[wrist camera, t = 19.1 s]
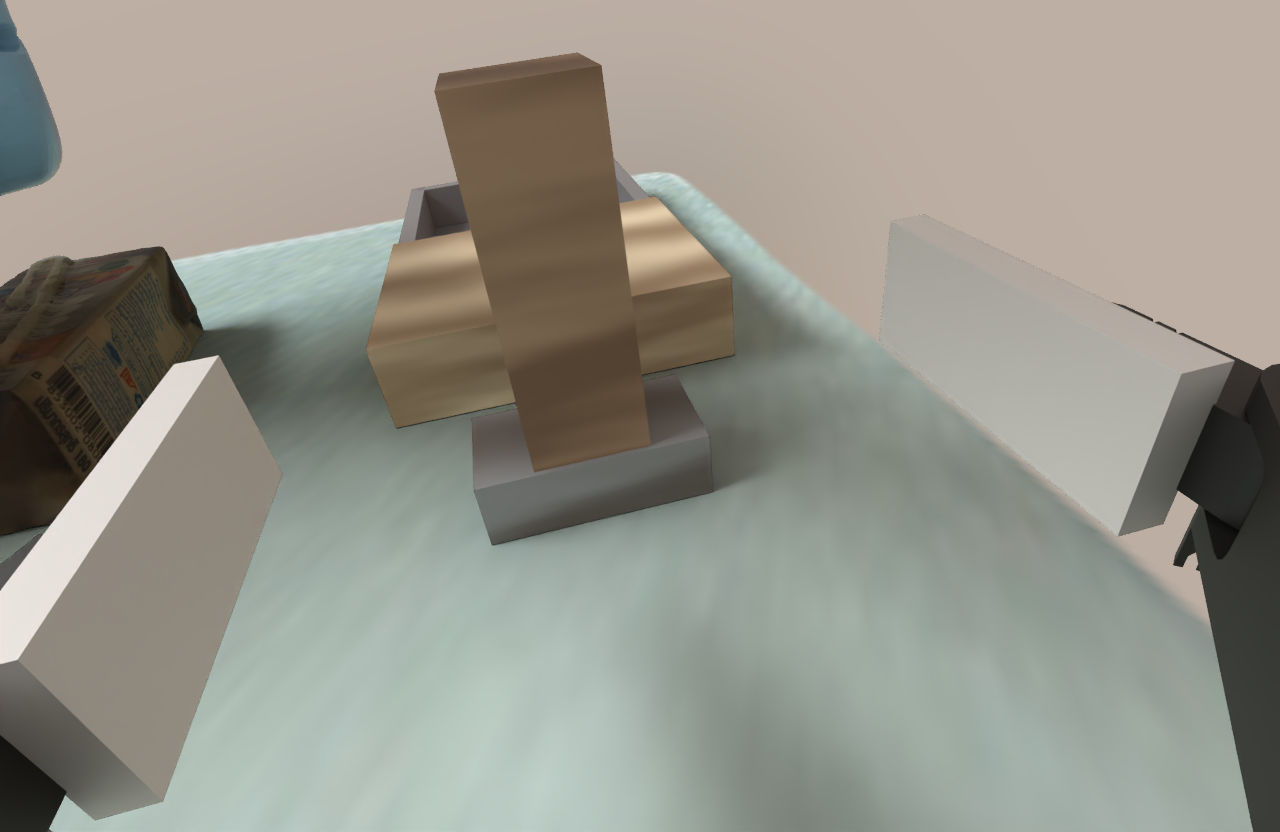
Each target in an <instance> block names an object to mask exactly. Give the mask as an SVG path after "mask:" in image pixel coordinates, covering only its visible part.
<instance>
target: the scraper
mask: <svg viewBox="0 0 1280 832" xmlns="http://www.w3.org/2000/svg"><path fill="white" fill-rule="evenodd" d="M435 95H436V99H437V103H438V107H439V111H440V114H441V118H442V122H443V126H444V129H445V134H446V137H447V141H448V145H449V149H450V153H451V156H452V160H453V164H454V168H455V172H456V176H457V179H458V183H459V187H460V191H461V195H462V199H463V202H464V206H465V210H466V214H467V218H468V222H469V225H470V229H471V233H472V237H473V241H474V244H475V248H476V252H477V256H478V260H479V264H480V267H481V271H482V275H483V279H484V283H485V287H486V290H487V294H488V298H489V302H490V306H491V310H492V313H493V317H494V321H495V325H496V329H497V332H498V336H499V340H500V344H501V348H502V352H503V355H504V359H505V363H506V367H507V371H508V375H509V378H510V382H511V386H512V390H513V394H514V398H515V401H516V405H517V409H513V410H508V411H504V412H499V413H494V414H490V415H485V416H481V417H476V418H472V443H473V482H474V493H475V496H476V499H477V502H478V505H479V508H480V511H481V514H482V517H483V520H484V523H485V526H486V529H487V532H488V535H489V538H490V541H491V544H492V545H495V544H499V543H503V542H507V541H512V540H516V539H520V538H524V537H528V536H532V535H536V534H540V533H545V532H549V531H553V530H557V529H561V528H565V527H569V526H574V525H578V524H582V523H586V522H590V521H594V520H598V519H603V518H607V517H611V516H615V515H619V514H623V513H627V512H632V511H636V510H640V509H644V508H648V507H652V506H656V505H660V504H665V503H669V502H673V501H677V500H681V499H685V498H689V497H694V496H698V495H702V494H706V493H710V492H713V479H712V465H711V450H710V436H709V434H708V432H707V430H706V429H705V427H704V425H703V423H702V421H701V420H700V418H699V416H698V414H697V412H696V411H695V409H694V407H693V405H692V404H691V402H690V400H689V398H688V396H687V395H686V393H685V391H684V389H683V387H682V386H681V384H680V382H679V380H678V378H677V377H676V375H675V374H674V375H669V376H665V377H660V378H655V379H651V380H646V381H643V380H642V372H641V365H640V357H639V349H638V342H637V334H636V326H635V319H634V311H633V303H632V296H631V288H630V280H629V273H628V265H627V258H626V250H625V242H624V235H623V227H622V219H621V212H620V204H619V196H618V189H617V181H616V173H615V166H614V158H613V151H612V143H611V135H610V128H609V120H608V113H607V105H606V97H605V89H604V82H603V75H602V66H601V65H600V64H598V63H596V62H594V61H592V60H590V59H589V58H587V57H585V56H583V55H581V54H579V53H572V54H565V55H558V56H552V57H545V58H539V59H532V60H526V61H519V62H513V63H506V64H500V65H494V66H486V67H480V68H473V69H467V70H460V71H454V72H448V73H441V74H439V76H438V80H437V84H436V88H435Z"/></svg>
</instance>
